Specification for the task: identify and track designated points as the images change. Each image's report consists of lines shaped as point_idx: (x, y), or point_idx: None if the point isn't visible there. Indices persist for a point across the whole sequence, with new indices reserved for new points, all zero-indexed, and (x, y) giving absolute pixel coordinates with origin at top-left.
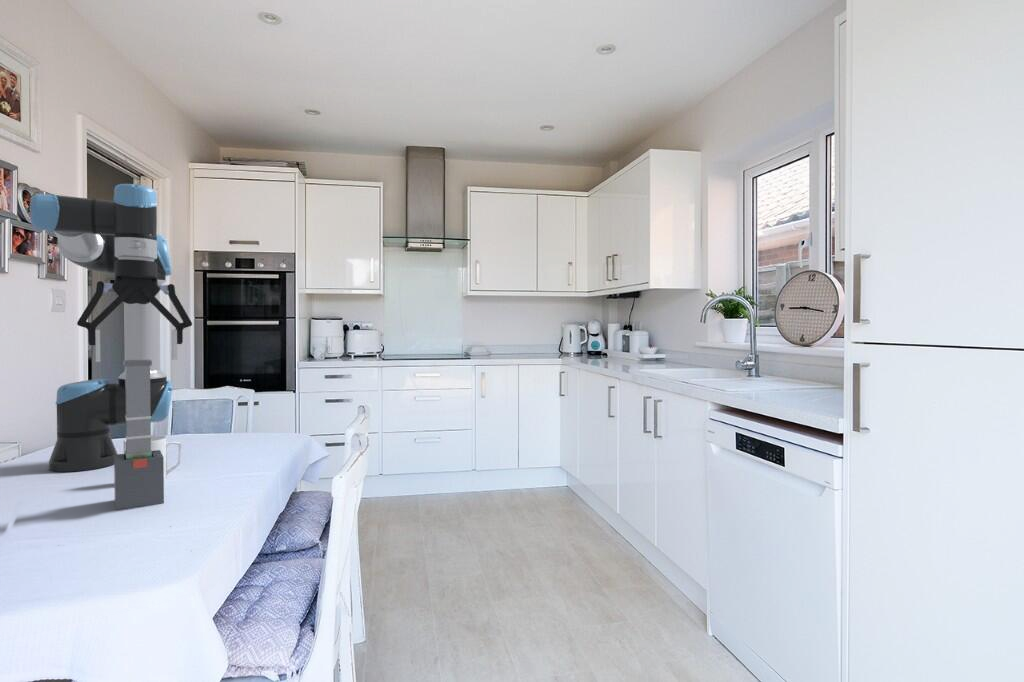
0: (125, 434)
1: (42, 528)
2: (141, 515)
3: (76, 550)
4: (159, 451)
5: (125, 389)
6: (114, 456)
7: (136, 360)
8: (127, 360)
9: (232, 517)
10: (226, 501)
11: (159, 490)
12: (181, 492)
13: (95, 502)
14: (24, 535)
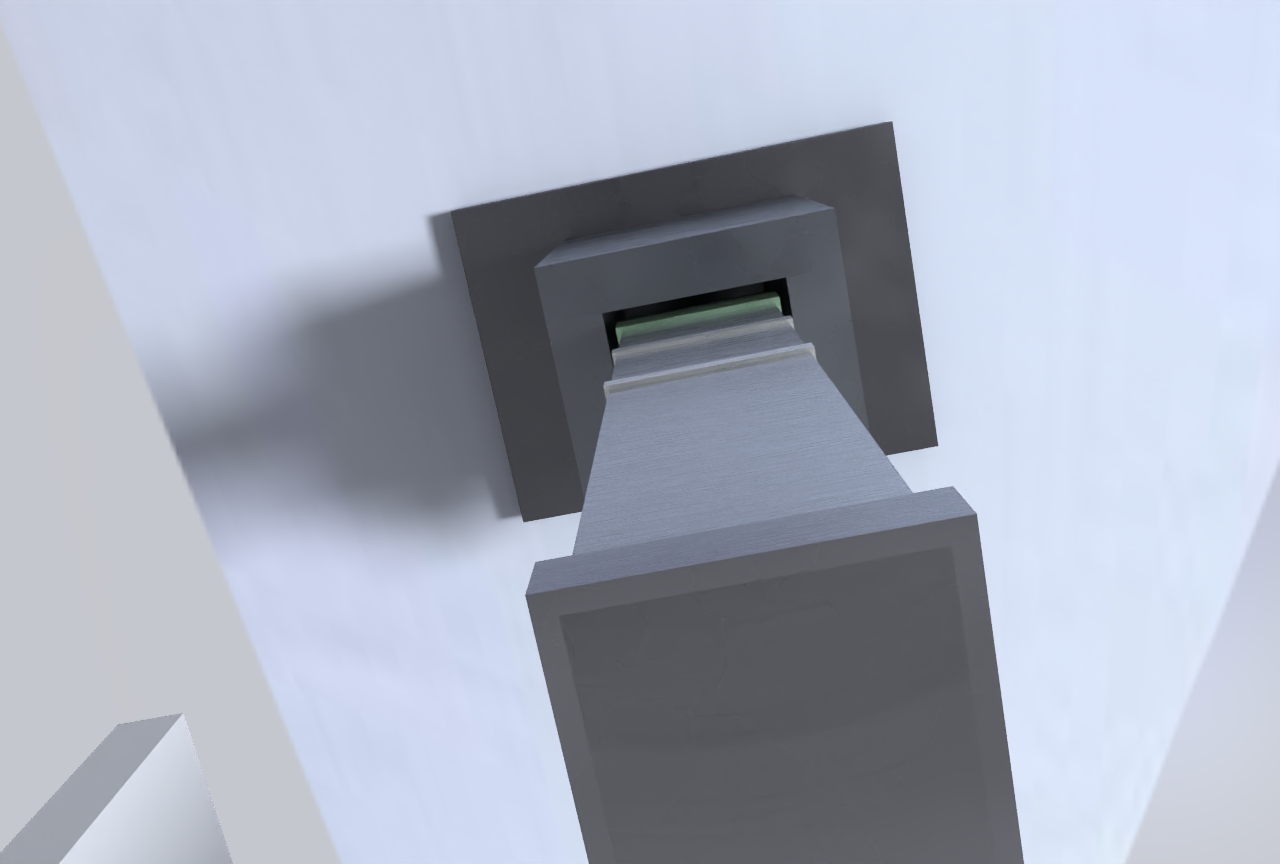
0: (614, 362)
1: (327, 513)
2: None
3: (554, 860)
4: (837, 271)
5: (593, 461)
6: (550, 337)
7: (769, 756)
8: (615, 708)
9: (1144, 692)
10: (1139, 399)
11: None
12: (899, 80)
13: (446, 114)
14: (287, 588)
